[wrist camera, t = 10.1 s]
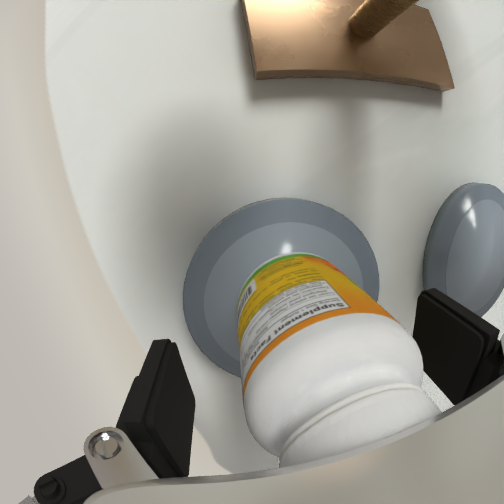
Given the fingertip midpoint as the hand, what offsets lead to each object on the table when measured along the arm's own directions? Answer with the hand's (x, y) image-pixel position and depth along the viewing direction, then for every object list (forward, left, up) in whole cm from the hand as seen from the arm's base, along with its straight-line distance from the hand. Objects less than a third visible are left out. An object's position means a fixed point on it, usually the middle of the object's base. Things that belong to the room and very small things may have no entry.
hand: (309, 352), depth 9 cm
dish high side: (-14, 0, -5) cm, 15 cm away
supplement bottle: (0, 0, -4) cm, 4 cm away
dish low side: (0, 0, -5) cm, 5 cm away
